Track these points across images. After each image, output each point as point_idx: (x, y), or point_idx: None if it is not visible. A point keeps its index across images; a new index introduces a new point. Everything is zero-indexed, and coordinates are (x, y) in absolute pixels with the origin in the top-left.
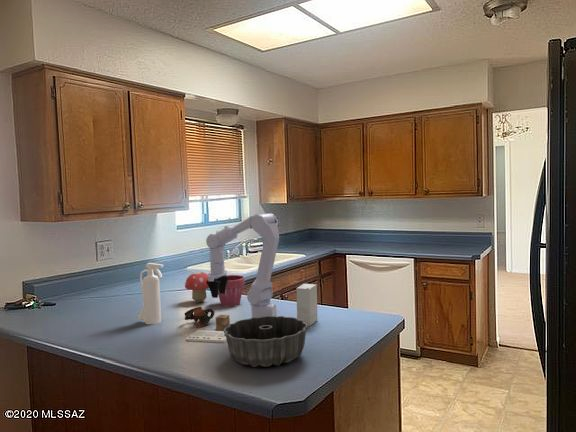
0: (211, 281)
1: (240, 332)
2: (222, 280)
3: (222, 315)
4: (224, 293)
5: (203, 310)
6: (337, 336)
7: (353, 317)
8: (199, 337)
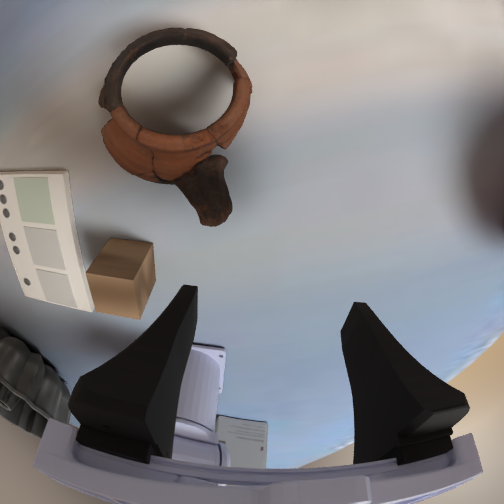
0: (89, 431)
1: (2, 357)
2: (373, 424)
3: (123, 294)
4: (344, 331)
5: (162, 173)
6: None
7: (276, 456)
8: (9, 218)
